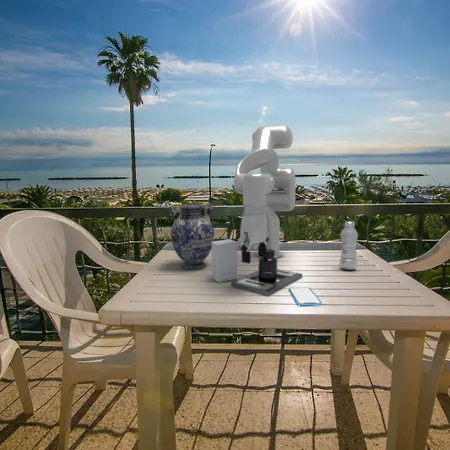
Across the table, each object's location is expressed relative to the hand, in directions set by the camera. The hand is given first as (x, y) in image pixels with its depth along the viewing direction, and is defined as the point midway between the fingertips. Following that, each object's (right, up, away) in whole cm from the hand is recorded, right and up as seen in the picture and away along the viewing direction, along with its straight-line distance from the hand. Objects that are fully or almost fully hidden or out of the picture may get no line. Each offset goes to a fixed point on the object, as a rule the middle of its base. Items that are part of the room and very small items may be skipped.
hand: (254, 259), depth 111 cm
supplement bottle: (+6, -9, +8) cm, 14 cm away
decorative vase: (-24, -6, +30) cm, 39 cm away
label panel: (+6, -9, +8) cm, 13 cm away
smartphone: (+15, -12, -7) cm, 21 cm away
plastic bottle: (+41, -7, +22) cm, 46 cm away
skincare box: (-10, -9, +12) cm, 18 cm away
